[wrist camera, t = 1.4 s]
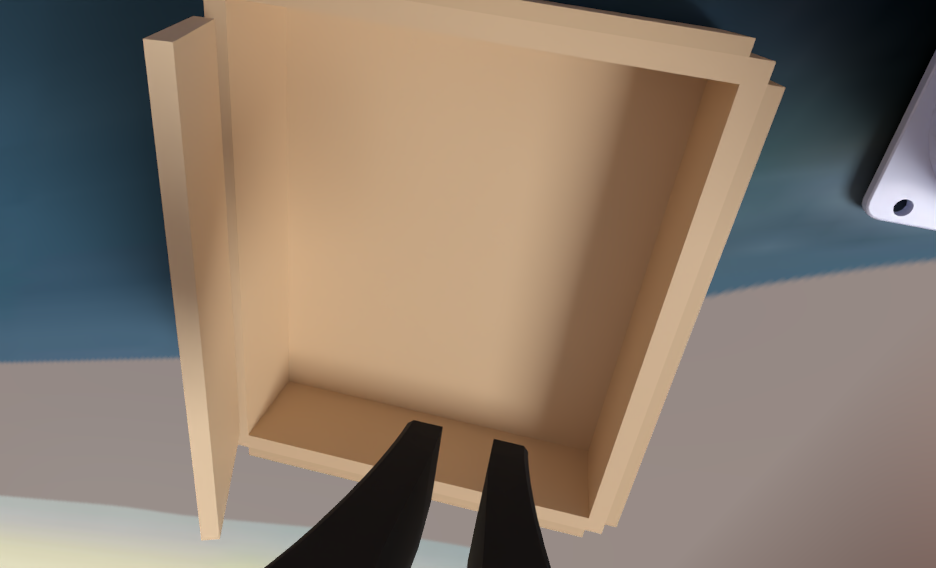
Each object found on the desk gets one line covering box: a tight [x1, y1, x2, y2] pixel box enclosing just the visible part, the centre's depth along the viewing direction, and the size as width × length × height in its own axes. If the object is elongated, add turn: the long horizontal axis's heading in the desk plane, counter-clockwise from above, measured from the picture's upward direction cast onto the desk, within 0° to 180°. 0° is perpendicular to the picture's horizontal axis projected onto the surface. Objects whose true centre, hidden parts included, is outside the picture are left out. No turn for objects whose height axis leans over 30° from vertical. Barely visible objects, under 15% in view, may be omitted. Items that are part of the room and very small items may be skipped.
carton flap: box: [143, 16, 240, 540], centre depth 16 cm, size 4×14×1 cm
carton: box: [203, 0, 786, 537], centre depth 19 cm, size 14×17×4 cm
